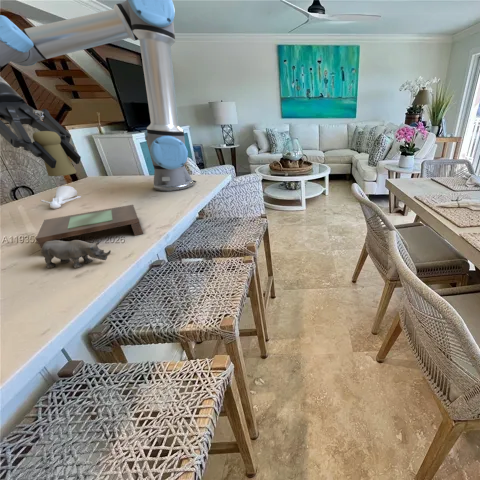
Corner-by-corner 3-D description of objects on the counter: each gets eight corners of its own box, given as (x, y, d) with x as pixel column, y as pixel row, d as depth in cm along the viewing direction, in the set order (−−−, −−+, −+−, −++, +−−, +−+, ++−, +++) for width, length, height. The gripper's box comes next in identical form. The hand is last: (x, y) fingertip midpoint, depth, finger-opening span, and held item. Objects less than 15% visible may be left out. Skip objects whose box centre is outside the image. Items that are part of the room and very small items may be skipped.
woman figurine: (84, 182, 104) (72, 197, 90) (89, 193, 106) (77, 209, 93) (46, 185, 99) (26, 202, 86) (51, 196, 102) (33, 215, 88)
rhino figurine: (108, 268, 57) (97, 243, 55) (42, 270, 57) (28, 245, 54) (120, 258, 61) (110, 235, 58) (58, 260, 60) (46, 236, 58)
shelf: (137, 218, 83) (132, 203, 81) (143, 233, 73) (137, 217, 71) (52, 235, 72) (43, 219, 70) (45, 256, 62) (35, 237, 60)
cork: (75, 170, 77) (58, 129, 72) (77, 173, 74) (60, 131, 69) (47, 173, 74) (27, 131, 69) (48, 177, 70) (27, 132, 65)
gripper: (37, 105, 78) (98, 165, 81) (-57, 105, 63) (23, 179, 65) (39, 84, 74) (104, 148, 77) (-59, 78, 59) (25, 158, 61)
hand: (66, 162), depth 71 cm, fingers closed on cork, 5 cm apart
